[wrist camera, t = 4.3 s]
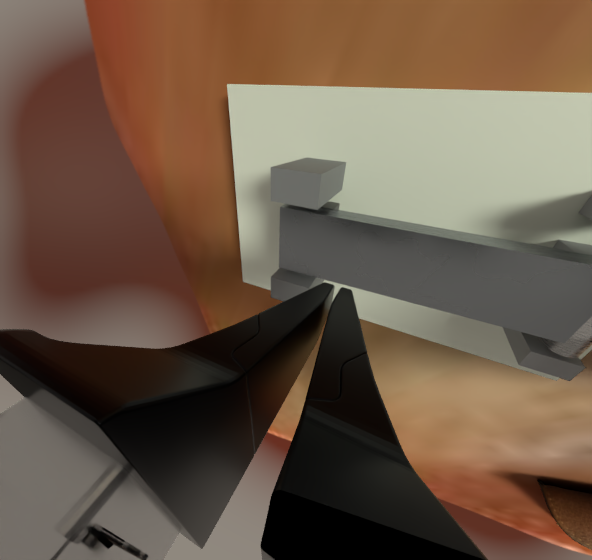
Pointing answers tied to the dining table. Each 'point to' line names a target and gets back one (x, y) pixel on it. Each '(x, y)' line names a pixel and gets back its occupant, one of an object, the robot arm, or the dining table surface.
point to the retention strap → (447, 271)
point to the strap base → (416, 185)
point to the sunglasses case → (571, 512)
